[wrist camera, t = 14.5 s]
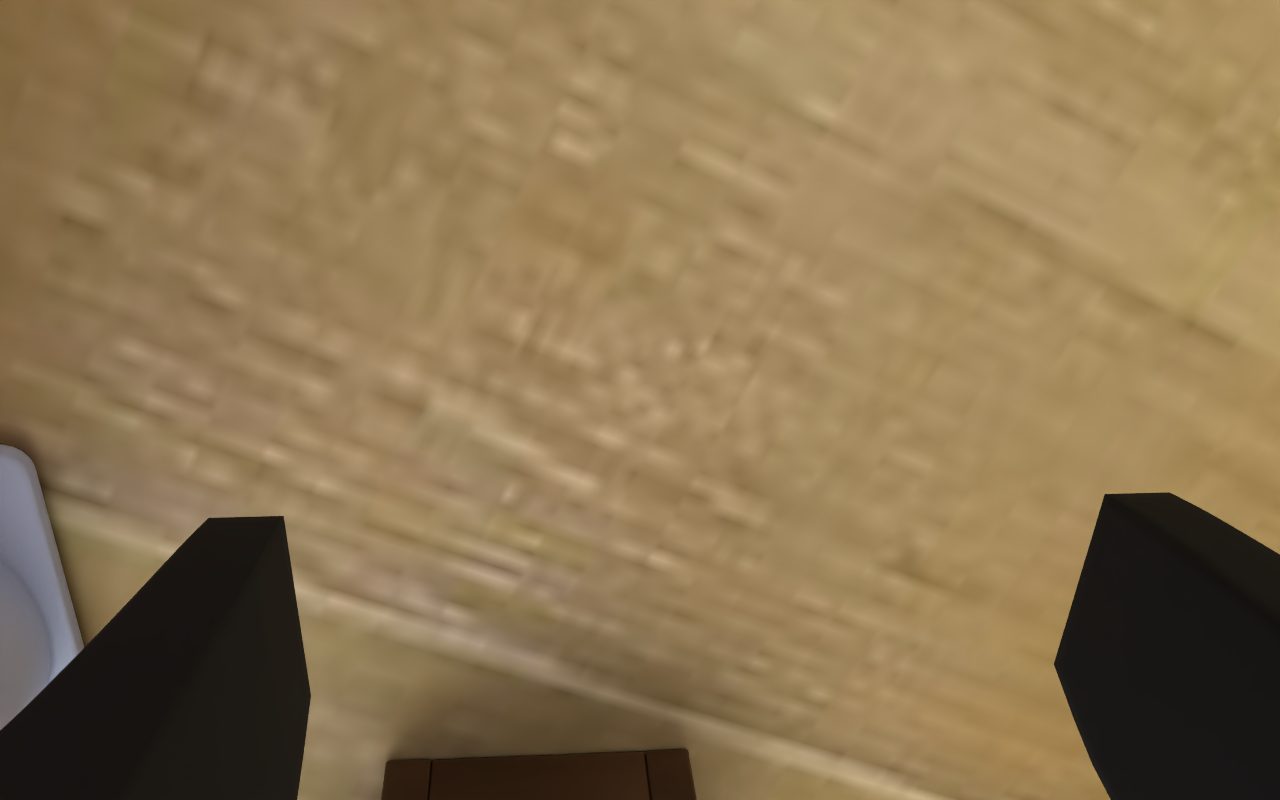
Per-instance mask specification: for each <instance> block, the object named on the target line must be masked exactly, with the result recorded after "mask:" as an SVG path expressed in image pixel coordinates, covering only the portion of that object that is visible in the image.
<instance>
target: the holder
mask: <svg viewBox="0 0 1280 800" xmlns="http://www.w3.org/2000/svg"><path fill="white" fill-rule="evenodd" d="M381 800H696V794H695V788H694V782H693V776H692V770H691V764H690V758H689V752H688V750H687V749H679V750H654V751H646V753H645V755H644V753H643V752H619V753H594V754H569V755H544V756H519V757H493V758H468V759H443V760H434V761H433V762H432V764H431V760H429V759H424V760H399V761H387V762H386V766H385V774H384V781H383V789H382V797H381Z"/></svg>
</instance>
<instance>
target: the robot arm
mask: <svg viewBox="0 0 1280 800" xmlns="http://www.w3.org/2000/svg"><path fill="white" fill-rule="evenodd" d="M1054 666H1055V668H1056V671H1057V674H1058V677H1059V679H1060V682H1061V685H1062V687H1063V690H1064V693H1065V696H1066V698H1067V701H1068V704H1069V707H1070V709H1071V712H1072V715H1073V718H1074V720H1075V723H1076V725H1077V728H1078V730H1079V732H1080V735H1081V737H1082V740H1083V742H1084V745H1085V747H1086V750H1087V752H1088V754H1089V757H1090V759H1091V762H1092V764H1093V766H1094V768H1095V770H1096V772H1097V774H1098V776H1099V778H1100V780H1101V782H1102V784H1103V785H1104V787H1105V789H1106V791H1107V793H1108V795H1109V797H1110V798H1111V800H1280V555H1279V554H1278V553H1276V552H1274V551H1273V550H1271V549H1269V548H1268V547H1266V546H1264V545H1263V544H1261V543H1259V542H1258V541H1256V540H1254V539H1253V538H1251V537H1249V536H1248V535H1246V534H1244V533H1243V532H1241V531H1239V530H1237V529H1236V528H1234V527H1232V526H1231V525H1229V524H1227V523H1226V522H1224V521H1222V520H1220V519H1218V518H1217V517H1215V516H1213V515H1211V514H1210V513H1208V512H1206V511H1204V510H1202V509H1201V508H1199V507H1197V506H1195V505H1193V504H1191V503H1189V502H1187V501H1185V500H1183V499H1181V498H1179V497H1177V496H1175V495H1173V494H1171V493H1133V494H1105V496H1104V499H1103V502H1102V506H1101V509H1100V512H1099V516H1098V519H1097V522H1096V526H1095V529H1094V532H1093V536H1092V539H1091V542H1090V546H1089V549H1088V552H1087V556H1086V559H1085V562H1084V566H1083V569H1082V572H1081V576H1080V579H1079V582H1078V586H1077V589H1076V592H1075V596H1074V599H1073V602H1072V606H1071V609H1070V612H1069V616H1068V619H1067V622H1066V626H1065V629H1064V632H1063V636H1062V639H1061V642H1060V646H1059V649H1058V652H1057V656H1056V659H1055V662H1054ZM310 698H311V694H310V687H309V681H308V674H307V667H306V661H305V654H304V648H303V641H302V635H301V628H300V621H299V615H298V608H297V602H296V595H295V589H294V582H293V575H292V569H291V562H290V556H289V549H288V543H287V536H286V529H285V523H284V516H267V517H230V518H208V519H207V520H206V521H205V522H204V523H203V524H202V525H201V526H200V527H199V528H198V529H197V530H196V531H195V532H194V533H193V534H192V535H191V536H190V537H189V538H188V539H187V540H186V541H185V542H184V543H183V544H182V545H181V546H180V547H179V548H178V549H177V550H176V552H175V553H174V554H173V555H172V556H171V557H170V558H169V559H168V560H167V561H166V562H165V563H164V564H163V565H162V567H161V568H160V569H159V570H158V571H157V572H156V573H155V574H154V575H153V576H152V577H151V578H150V579H149V581H148V582H147V583H146V584H145V585H144V586H143V587H142V588H141V589H140V590H139V591H138V592H137V593H136V594H135V595H134V597H133V598H132V599H131V600H130V601H129V602H128V603H127V604H126V605H125V606H124V607H123V608H122V609H121V610H120V611H119V612H118V613H117V614H116V616H115V617H114V618H113V619H112V620H111V621H110V622H109V623H108V624H107V625H106V626H105V627H104V628H103V629H102V630H101V631H100V632H99V633H98V634H97V635H96V636H95V637H94V638H93V639H92V640H91V641H90V642H89V643H88V644H87V646H86V647H85V648H84V644H83V641H82V637H81V633H80V630H79V626H78V622H77V619H76V615H75V611H74V608H73V604H72V600H71V597H70V593H69V589H68V586H67V582H66V578H65V574H64V571H63V567H62V563H61V560H60V556H59V552H58V549H57V545H56V541H55V538H54V534H53V530H52V527H51V523H50V519H49V516H48V512H47V508H46V505H45V501H44V497H43V494H42V490H41V486H40V483H39V479H38V475H37V472H36V468H35V466H34V464H33V462H32V460H31V458H30V457H28V456H27V455H26V454H25V453H24V452H23V451H21V450H19V449H17V448H15V447H12V446H8V445H1V444H0V800H297V796H298V789H299V782H300V775H301V768H302V761H303V753H304V746H305V738H306V730H307V722H308V714H309V706H310Z"/></svg>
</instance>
